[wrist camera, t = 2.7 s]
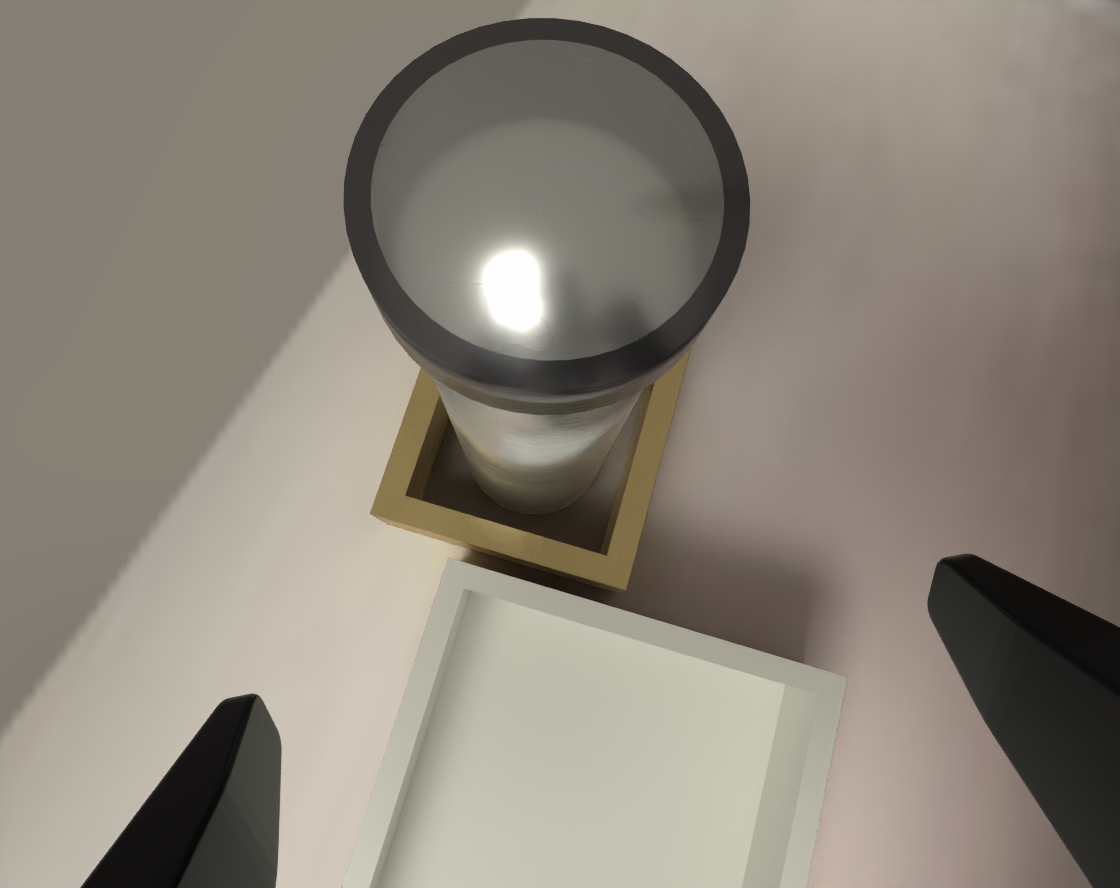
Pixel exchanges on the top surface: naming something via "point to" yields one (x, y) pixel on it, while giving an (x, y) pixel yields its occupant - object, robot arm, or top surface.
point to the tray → (593, 752)
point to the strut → (545, 237)
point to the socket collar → (603, 570)
